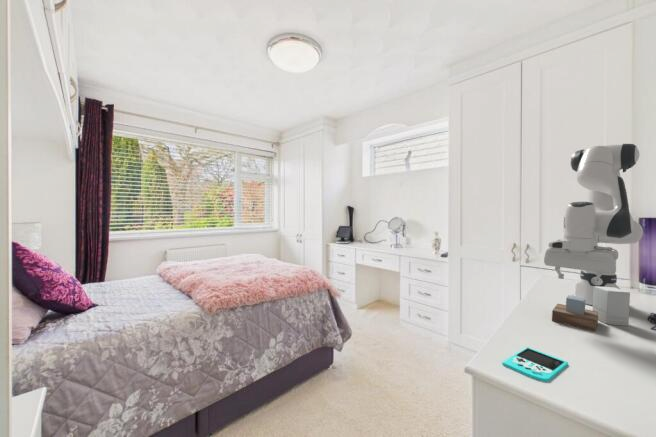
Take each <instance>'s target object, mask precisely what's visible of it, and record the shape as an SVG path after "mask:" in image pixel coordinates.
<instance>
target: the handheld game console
mask: <svg viewBox="0 0 656 437" xmlns="http://www.w3.org/2000/svg"><path fill="white" fill-rule="evenodd" d="M501 365H502V366H504V367H507V368H509V369H511V370H513V371H514V372H515V371H516V372H518V373H519V374H521V375H525V376H527V377H529V378H532V379H535V380H537V381H541V382H550V381H551V380H552V379H553V378H554V377H556V376H557V375H558V374H559V373H560V372H561V371H562V370H564V369H565V368H566V367H567V366H569V362H568V361H567V360H564V359H561V358H558V357H555V356H552V355H550V354H546V353H544V352H543V351H540V350H536V349H534V348H532V347H529V346H527V347H525V348H523V349H521V350H520V351H518V352H517V353H515V354H513V355H511V356H510V357H508V358H507V359H505V360H504V361H502V364H501Z"/></svg>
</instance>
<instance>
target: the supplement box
mask: <svg viewBox="0 0 656 437" xmlns="http://www.w3.org/2000/svg"><path fill="white" fill-rule="evenodd" d="M630 298H631V292H630V291H627V290H623V289H621V288H620V289H618V288H615V287H599V286H594V291H593V305H592V311H596V312H598V322H599V321H600V322H602V323H604V324H606V325H614V326H615V325H616V326H623V327H624V326H625V327H626V326H627V327H628V326H629V324H630V321H629V320H630V303H631V300H630Z"/></svg>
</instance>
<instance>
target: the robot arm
mask: <svg viewBox="0 0 656 437" xmlns="http://www.w3.org/2000/svg"><path fill="white" fill-rule="evenodd" d="M639 157H640V151H639V149H638V146H637V145H635V144H634V143H622V144H610V145H609V144H607V145H595V146H592V147H589V148H587V149H586V148H585V149H580V150H576V151H575V152H573V153H572V154H571V157H570V160H569V164H570V167H571V169H572V170H573V171H574V172H576V181H577V182H578V184H579V185H580V186H581V187H583V188H584V189H587V191H586V192H587V194H586V201H573V202H570V203H568V204H567V205H566V209H565V214H564V217H563V238H562V239H557V240H552V241H550V242H548V248H547V249H546V251H545V253H544V256H543V257H544V258H543V263H544V265H545V266H549V267H554V270H555V271H556V273H557V275H558V276H557V278H558V279H561V280H562V279H563V280H564V277H565V274H564V273H562V272H561V271H560V270H561V269H562V268H565V269H571V270H580V274H579V275H580V276H579V278H580V279H578V280H577V281H576V282H575V289H574V293H573V294H571V295H570V296H575V297H580V298H586V301H585V305H588V306H589V305H590V306H593V291H594V286H599V287H615V288H618V289H621V288H620V287H619V286H618V285H617V280H618V278H617V277H618V276H617V274H616V272H617V260H618V258H619V251H618V250H617V249H615V248H613V247H610V246H599V244H600V243H601V244H613V245H630V244H636V243H638V242H639V241H640V240H641V239H642V238H643V236H644V229H643V227H642V225H641V224H640V223H639V222H637V221H636V220H634V219H633V217H632V215H631V212H630V209H629V208H630V206H629V199H628V192H627V188H626V185H625V181H624V179H623V177H621V173H620V171H621V170H622V173H625V172H626V171H627V170H629V169H631V168H633V167H634V166H635V165H636V164H637V162H638V160H639Z"/></svg>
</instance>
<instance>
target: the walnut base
mask: <svg viewBox="0 0 656 437" xmlns="http://www.w3.org/2000/svg"><path fill="white" fill-rule="evenodd" d="M551 321H552V322H556V323H560V324H564V325H568V326H572V327H576V328H579V329H580V328H581V329H585V330H589V331H593V332H596V329H597V327H598V323H599V320H598V312H596V311H593V310H591V309H586V308H585V313H584V315H582V314H578V313H573V312H569V311H566V304H561V303H557V304H556V305H555V306H554V307H553V309H552V310H551Z"/></svg>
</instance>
